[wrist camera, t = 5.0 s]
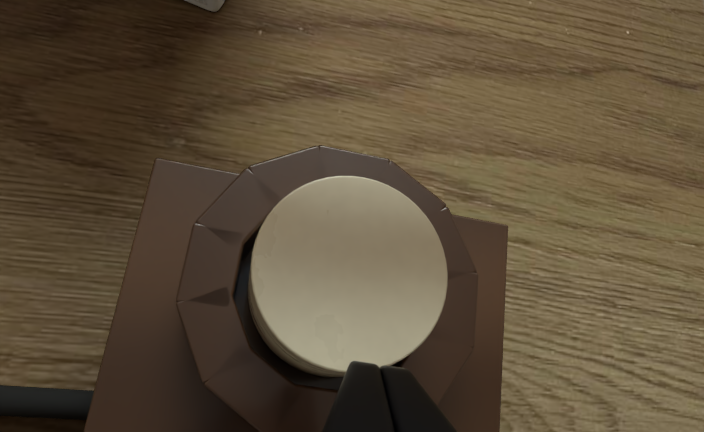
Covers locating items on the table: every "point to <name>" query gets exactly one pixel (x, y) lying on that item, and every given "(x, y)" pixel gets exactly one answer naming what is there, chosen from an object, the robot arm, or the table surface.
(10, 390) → the dark brown long rod
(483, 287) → the switch block
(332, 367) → the lamp switch
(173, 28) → the table surface
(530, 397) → the table surface
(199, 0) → the light bulb box
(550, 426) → the table surface
